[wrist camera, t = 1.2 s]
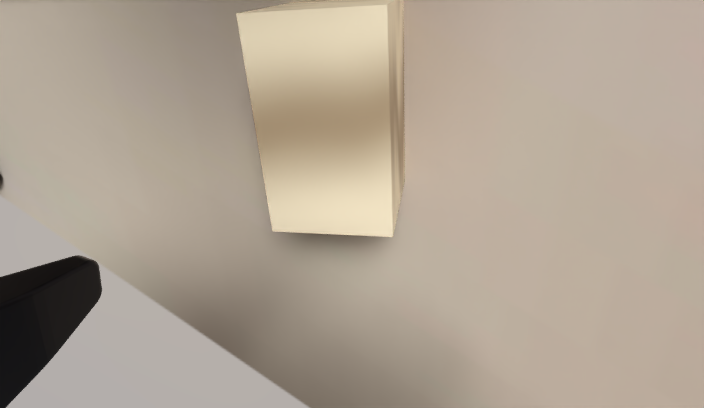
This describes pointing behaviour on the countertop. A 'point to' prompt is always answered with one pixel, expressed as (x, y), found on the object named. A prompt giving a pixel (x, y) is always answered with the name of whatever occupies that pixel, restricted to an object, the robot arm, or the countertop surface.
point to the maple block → (328, 113)
